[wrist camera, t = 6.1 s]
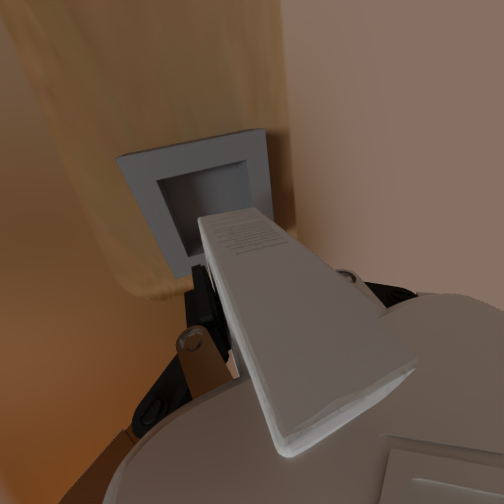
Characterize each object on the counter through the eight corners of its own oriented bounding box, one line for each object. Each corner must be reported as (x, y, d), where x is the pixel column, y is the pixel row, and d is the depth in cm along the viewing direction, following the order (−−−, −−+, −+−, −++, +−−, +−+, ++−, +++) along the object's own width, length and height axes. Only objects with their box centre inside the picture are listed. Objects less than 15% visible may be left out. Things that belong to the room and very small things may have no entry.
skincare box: (260, 271, 17) (380, 453, 7) (211, 285, 16) (275, 519, 6) (256, 203, 14) (462, 360, 4) (195, 213, 13) (273, 465, 3)
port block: (125, 153, 19) (113, 158, 15) (249, 129, 22) (266, 127, 18) (175, 259, 26) (176, 282, 22) (263, 232, 29) (278, 247, 25)
